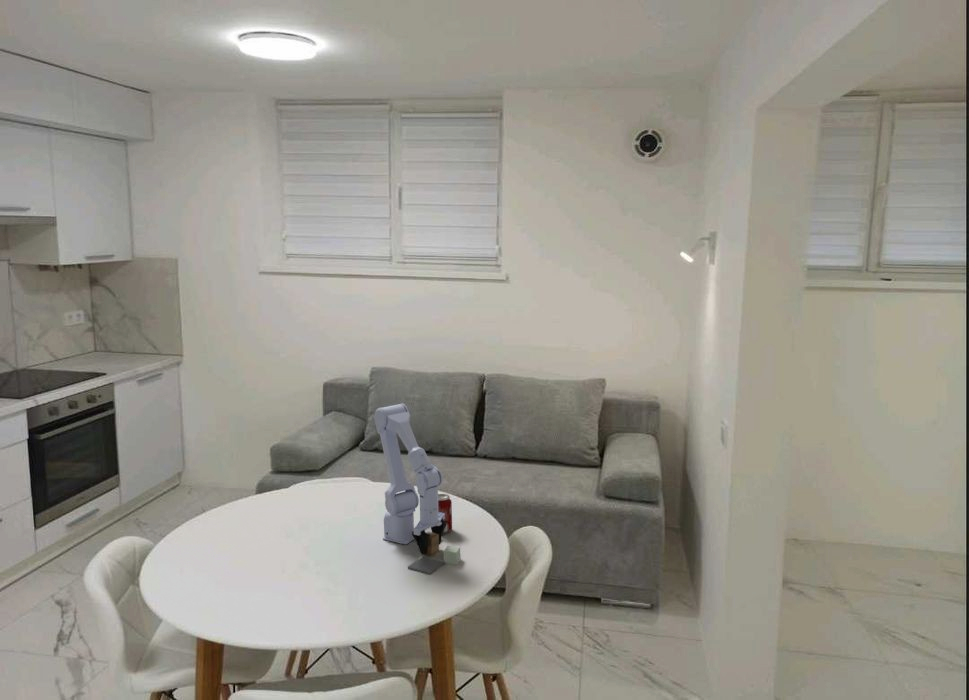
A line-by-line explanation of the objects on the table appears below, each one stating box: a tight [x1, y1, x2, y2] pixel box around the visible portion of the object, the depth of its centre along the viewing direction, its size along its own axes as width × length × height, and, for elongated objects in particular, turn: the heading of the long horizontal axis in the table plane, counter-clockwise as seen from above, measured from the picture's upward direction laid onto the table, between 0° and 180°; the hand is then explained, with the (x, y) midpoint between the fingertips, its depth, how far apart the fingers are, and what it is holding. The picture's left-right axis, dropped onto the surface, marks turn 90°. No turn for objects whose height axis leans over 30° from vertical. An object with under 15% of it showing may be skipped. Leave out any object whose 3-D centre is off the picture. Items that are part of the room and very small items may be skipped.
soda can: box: [438, 493, 453, 535], centre depth 247 cm, size 7×7×12 cm
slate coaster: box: [407, 555, 445, 575], centre depth 223 cm, size 8×8×1 cm
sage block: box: [443, 545, 461, 566], centre depth 226 cm, size 4×4×4 cm
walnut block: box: [421, 532, 440, 558], centre depth 231 cm, size 4×4×6 cm
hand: (430, 548), depth 232 cm, fingers open, 7 cm apart
